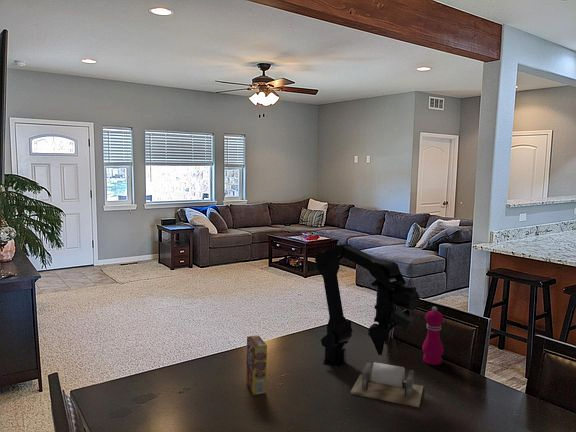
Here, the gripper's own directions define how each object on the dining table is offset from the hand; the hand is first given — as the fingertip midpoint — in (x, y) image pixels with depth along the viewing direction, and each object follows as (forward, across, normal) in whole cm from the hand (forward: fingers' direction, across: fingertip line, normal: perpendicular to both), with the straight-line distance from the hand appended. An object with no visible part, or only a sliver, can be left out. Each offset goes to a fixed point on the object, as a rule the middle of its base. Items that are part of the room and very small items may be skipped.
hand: (383, 349), depth 143 cm
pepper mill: (+11, +23, -13) cm, 29 cm away
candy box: (+12, -20, +35) cm, 42 cm away
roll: (+9, -5, -3) cm, 11 cm away
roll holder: (+11, -5, -3) cm, 12 cm away
